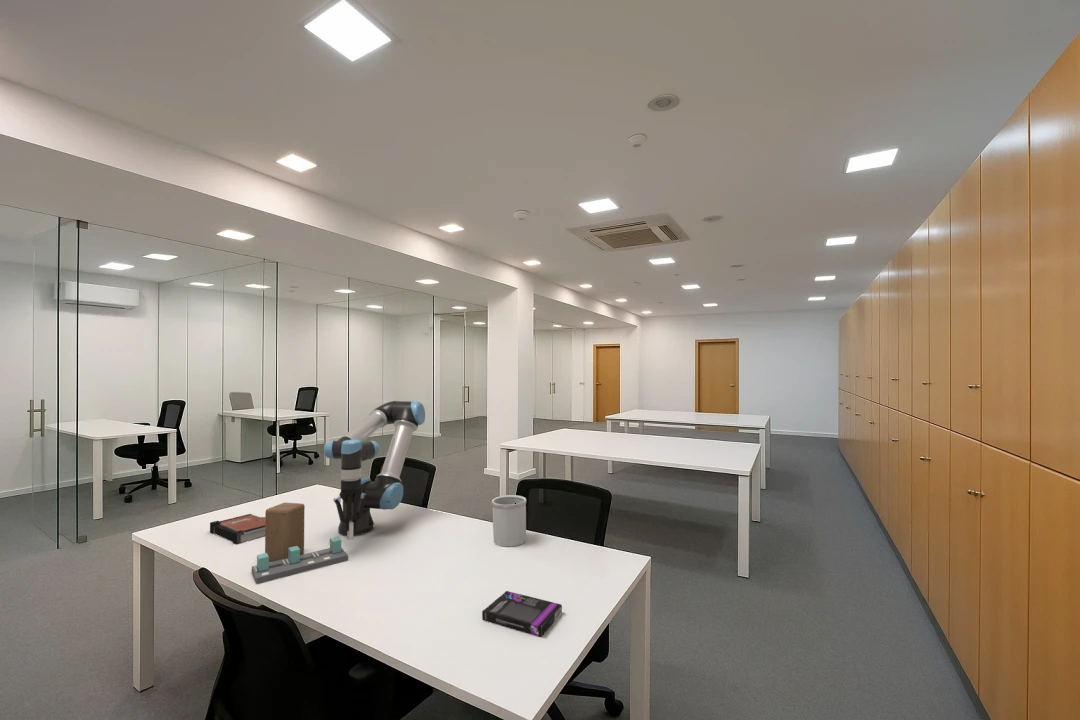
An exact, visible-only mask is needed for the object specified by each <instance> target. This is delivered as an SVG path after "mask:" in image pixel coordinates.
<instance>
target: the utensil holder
mask: <svg viewBox="0 0 1080 720" xmlns="http://www.w3.org/2000/svg"><path fill="white" fill-rule="evenodd" d="M515 503H516V504H515ZM526 505H527V498H526V497H524V496H522V495H515V494H507V495H500V496H497V497H495V498H493V499H492V500H491V506H492V529H493V530H492V533H493V544H495V545H496V546H500V547H504V548H505V547H507V548H508V547H509V548H510V547H518V546H521V545H523V544H524V543H526V541H527V507H526Z"/></svg>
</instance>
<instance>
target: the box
mask: <svg viewBox="0 0 1080 720" xmlns="http://www.w3.org/2000/svg"><path fill="white" fill-rule="evenodd" d="M562 611H563V605H562V604H561V603H557V602H553V601H549V600H545V599H541V598H537V597H533V596H529V595H524V594H521V593H517V592H513V591H509V590H506V591H504V592H503V593H502V594H501V595H500V596H498V597H497V598H496V599H495V600H493V602H492V603H491V604H489V605H488V606H486V608H484V609H483V610H482V611H481V613H482V614H481V619H482V621H485V622H487V621H488V622H487V623H490V622H491V624H494V625H498V626H501V627H505V628H508V629H511V630H515V631H517V632H518V631H519V632H522V633H526V634H528V635H532V636H535V637H539V638H542V637H543V636H544V635H545V634H546V633H547V631H548V630H549V629H550V627H551V626H553V624H554V623H555V622H556V621H557V619H558V618H559V616H561V614H562V613H563V612H562Z"/></svg>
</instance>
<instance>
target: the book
mask: <svg viewBox="0 0 1080 720" xmlns="http://www.w3.org/2000/svg"><path fill="white" fill-rule="evenodd" d="M209 533H210V534H212V535H216V534H217V535H216V536H218V535H219V536H218V537H221V538H222V539H225V540H228V541H230V542H232V543H233V544H234V545H240V544H244V543H247V541H248V542H251V541H254V540H257V539H261V538H265V516H257V515H255V514H252V513H247V514H244V515H240V516H236V517H232V518H227V519H224V520H215V521H212V522H209Z"/></svg>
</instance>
